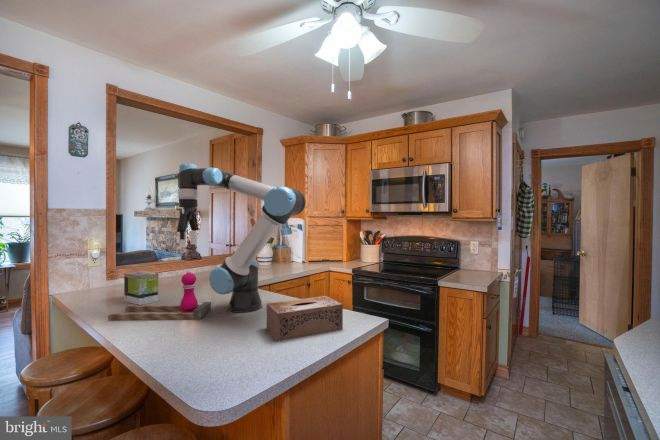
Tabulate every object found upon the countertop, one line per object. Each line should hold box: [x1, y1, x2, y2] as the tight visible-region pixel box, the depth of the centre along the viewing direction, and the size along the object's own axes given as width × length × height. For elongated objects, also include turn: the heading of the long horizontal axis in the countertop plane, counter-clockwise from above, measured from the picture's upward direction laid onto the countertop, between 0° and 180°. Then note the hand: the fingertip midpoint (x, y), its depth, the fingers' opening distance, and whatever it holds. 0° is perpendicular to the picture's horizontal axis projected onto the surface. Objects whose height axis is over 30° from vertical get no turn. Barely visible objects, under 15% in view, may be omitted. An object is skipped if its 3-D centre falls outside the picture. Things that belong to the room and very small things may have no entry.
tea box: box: [123, 270, 159, 306], centre depth 162 cm, size 15×10×15 cm, turn 58°
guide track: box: [107, 301, 212, 322], centre depth 139 cm, size 38×13×4 cm, turn 92°
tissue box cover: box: [266, 295, 344, 342], centre depth 122 cm, size 26×14×10 cm, turn 117°
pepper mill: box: [179, 269, 199, 313], centre depth 139 cm, size 7×7×20 cm
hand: (188, 245), depth 143 cm, fingers open, 13 cm apart
